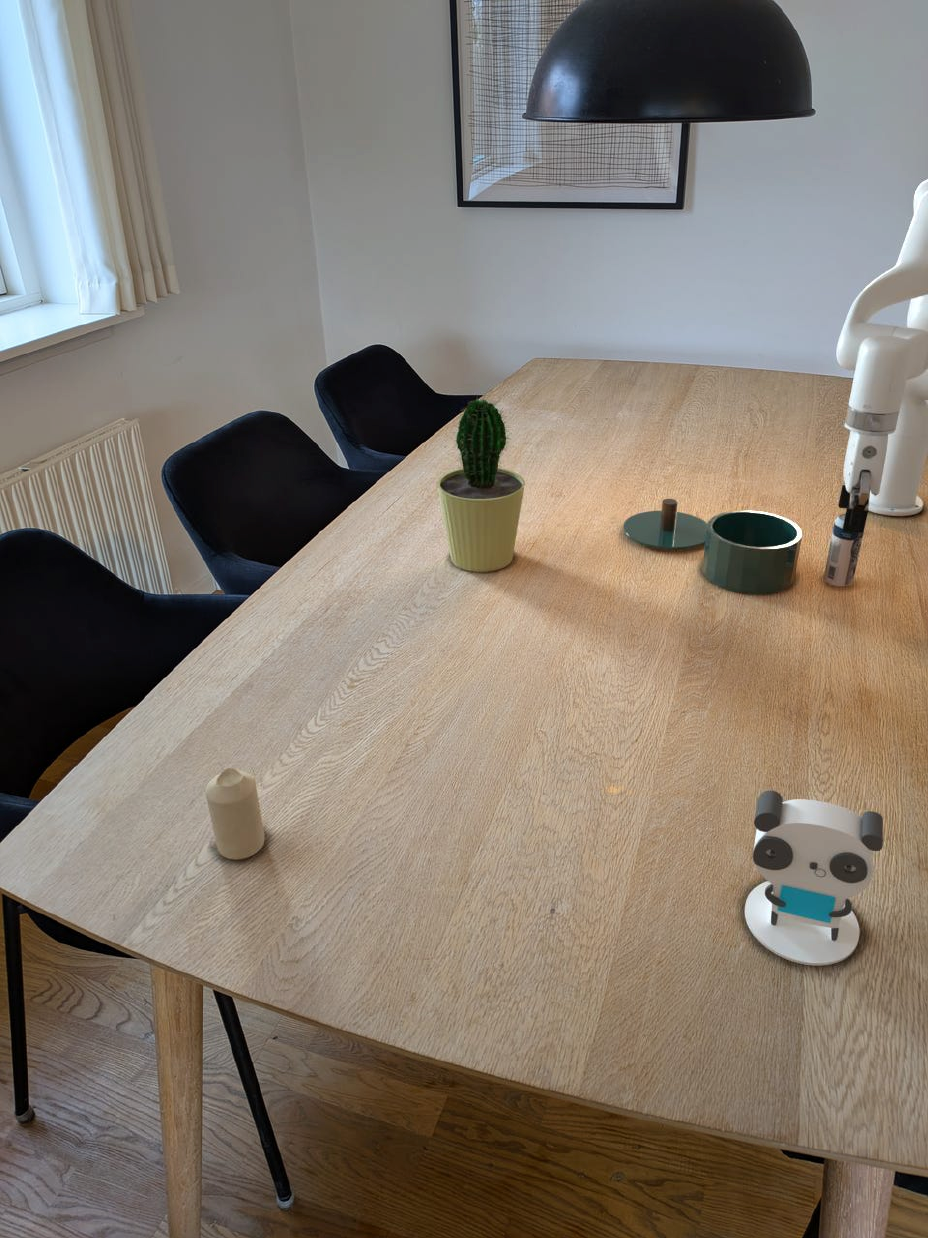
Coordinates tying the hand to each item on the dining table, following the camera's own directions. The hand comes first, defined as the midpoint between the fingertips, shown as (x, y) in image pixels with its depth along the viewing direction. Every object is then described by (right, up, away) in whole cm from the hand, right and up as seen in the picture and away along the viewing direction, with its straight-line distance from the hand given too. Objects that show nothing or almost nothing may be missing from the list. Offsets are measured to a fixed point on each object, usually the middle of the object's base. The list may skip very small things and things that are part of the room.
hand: (850, 519), depth 155 cm
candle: (-90, -43, -46) cm, 110 cm away
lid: (-25, 0, +24) cm, 35 cm away
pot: (-14, -8, +10) cm, 19 cm away
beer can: (0, -10, +6) cm, 12 cm away
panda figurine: (-29, -48, -57) cm, 80 cm away
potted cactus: (-61, -5, +17) cm, 63 cm away
